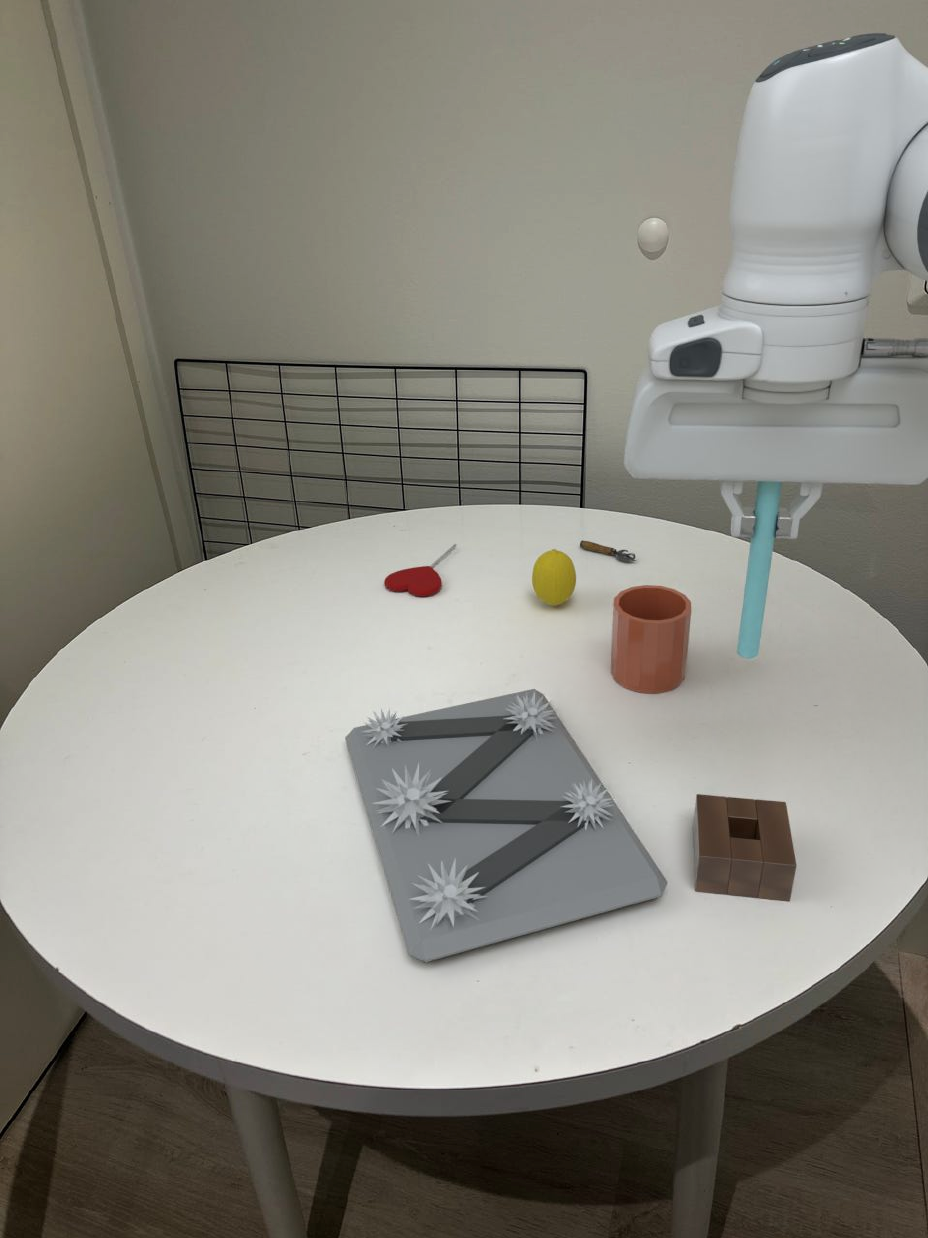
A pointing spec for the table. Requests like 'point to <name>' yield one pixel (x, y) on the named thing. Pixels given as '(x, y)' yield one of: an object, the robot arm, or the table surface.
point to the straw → (758, 568)
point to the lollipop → (416, 579)
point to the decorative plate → (493, 824)
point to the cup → (650, 638)
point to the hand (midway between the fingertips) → (762, 535)
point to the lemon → (554, 577)
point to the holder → (743, 847)
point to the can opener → (607, 550)
